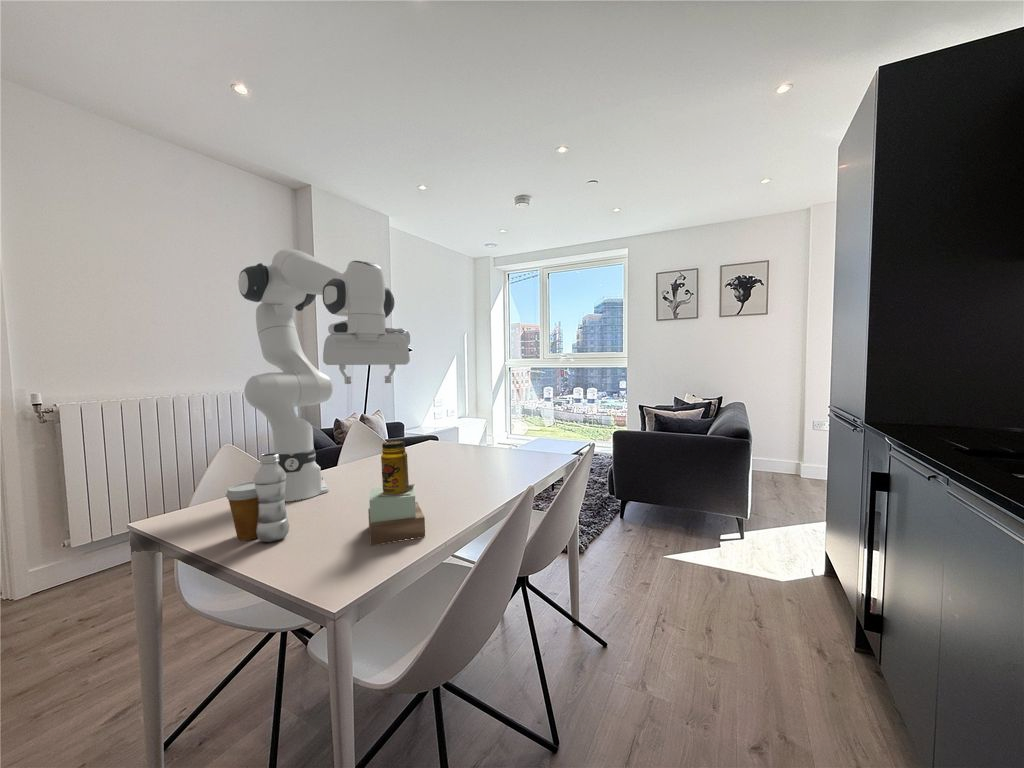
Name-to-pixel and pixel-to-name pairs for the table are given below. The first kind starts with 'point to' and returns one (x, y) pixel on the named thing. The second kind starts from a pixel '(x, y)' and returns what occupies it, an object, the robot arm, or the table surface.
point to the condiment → (395, 469)
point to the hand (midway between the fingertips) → (368, 383)
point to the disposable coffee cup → (244, 509)
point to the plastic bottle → (271, 499)
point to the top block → (391, 506)
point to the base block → (397, 528)
